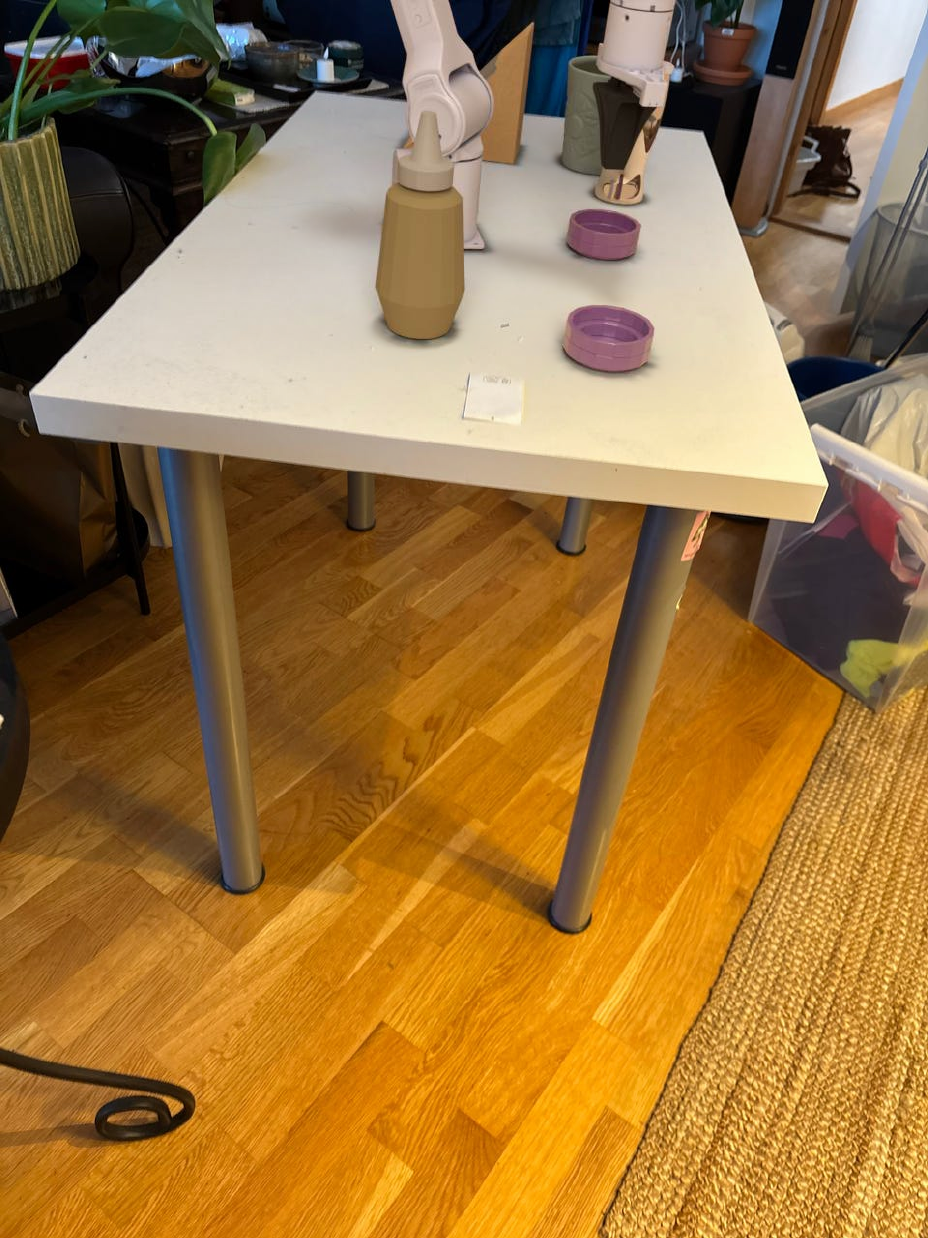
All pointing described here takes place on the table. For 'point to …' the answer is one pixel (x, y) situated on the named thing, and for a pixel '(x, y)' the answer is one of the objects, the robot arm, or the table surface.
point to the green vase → (582, 117)
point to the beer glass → (631, 165)
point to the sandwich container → (506, 99)
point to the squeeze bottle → (422, 241)
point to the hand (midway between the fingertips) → (612, 167)
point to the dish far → (603, 234)
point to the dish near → (608, 337)
